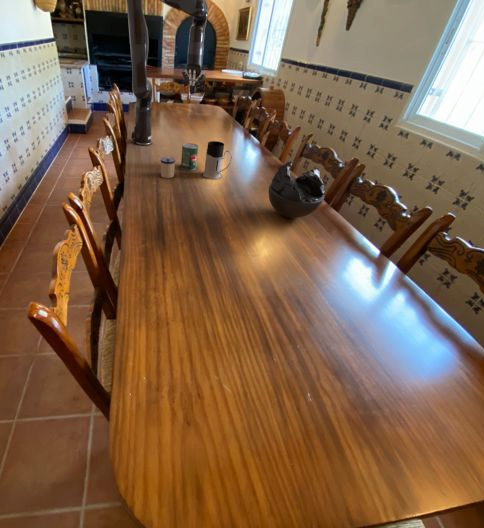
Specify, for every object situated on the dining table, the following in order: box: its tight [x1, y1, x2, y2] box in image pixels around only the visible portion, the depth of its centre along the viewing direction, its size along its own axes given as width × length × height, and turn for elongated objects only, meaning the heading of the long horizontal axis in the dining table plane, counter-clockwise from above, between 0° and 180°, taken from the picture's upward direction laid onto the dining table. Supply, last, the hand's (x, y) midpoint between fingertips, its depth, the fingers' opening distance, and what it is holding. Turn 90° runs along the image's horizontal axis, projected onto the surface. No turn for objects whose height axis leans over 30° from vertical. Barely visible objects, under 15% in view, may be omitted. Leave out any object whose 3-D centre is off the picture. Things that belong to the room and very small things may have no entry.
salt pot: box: [160, 155, 176, 179], centre depth 139 cm, size 7×7×9 cm
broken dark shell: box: [267, 161, 325, 219], centre depth 111 cm, size 20×20×19 cm
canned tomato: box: [180, 142, 199, 172], centre depth 147 cm, size 8×8×11 cm
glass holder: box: [202, 140, 233, 180], centre depth 138 cm, size 9×14×15 cm, turn 44°
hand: (192, 94), depth 153 cm, fingers closed
